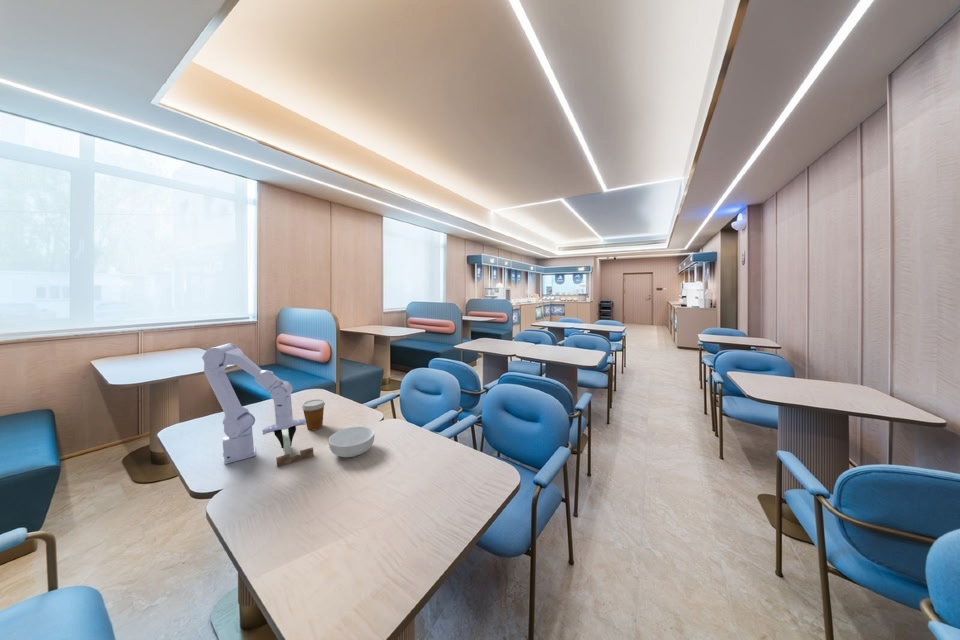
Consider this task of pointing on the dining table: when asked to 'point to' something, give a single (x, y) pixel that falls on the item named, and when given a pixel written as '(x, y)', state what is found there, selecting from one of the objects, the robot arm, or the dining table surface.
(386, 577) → the dining table surface
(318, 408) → the disposable coffee cup
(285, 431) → the sage slot plate
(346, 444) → the cereal bowl
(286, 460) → the walnut slot board
